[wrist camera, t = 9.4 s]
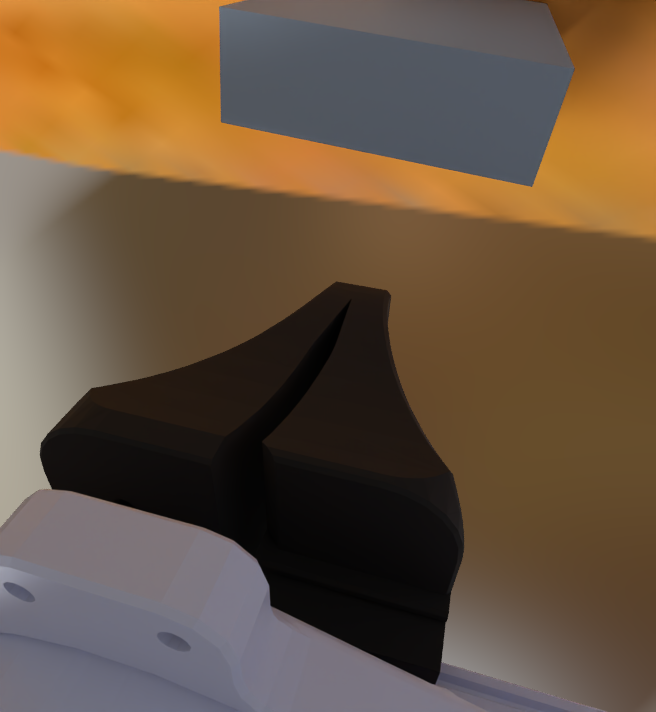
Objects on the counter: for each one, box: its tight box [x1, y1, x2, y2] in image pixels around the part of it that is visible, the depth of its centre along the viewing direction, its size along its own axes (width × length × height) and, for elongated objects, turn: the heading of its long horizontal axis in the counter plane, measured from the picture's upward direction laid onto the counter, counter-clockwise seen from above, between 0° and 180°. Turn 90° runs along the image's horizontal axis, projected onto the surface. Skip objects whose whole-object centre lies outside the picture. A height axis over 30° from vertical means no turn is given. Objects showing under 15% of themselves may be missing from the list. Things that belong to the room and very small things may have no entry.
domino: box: [219, 0, 575, 187], centre depth 11 cm, size 2×5×9 cm, turn 84°
